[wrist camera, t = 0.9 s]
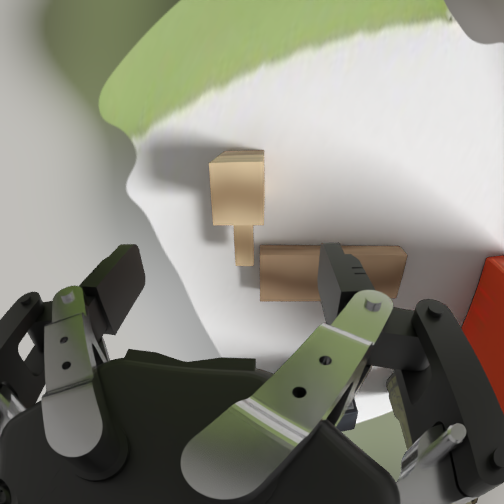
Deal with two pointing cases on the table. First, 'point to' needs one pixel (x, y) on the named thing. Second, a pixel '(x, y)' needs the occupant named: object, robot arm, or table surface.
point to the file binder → (489, 324)
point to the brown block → (306, 270)
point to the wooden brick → (239, 197)
